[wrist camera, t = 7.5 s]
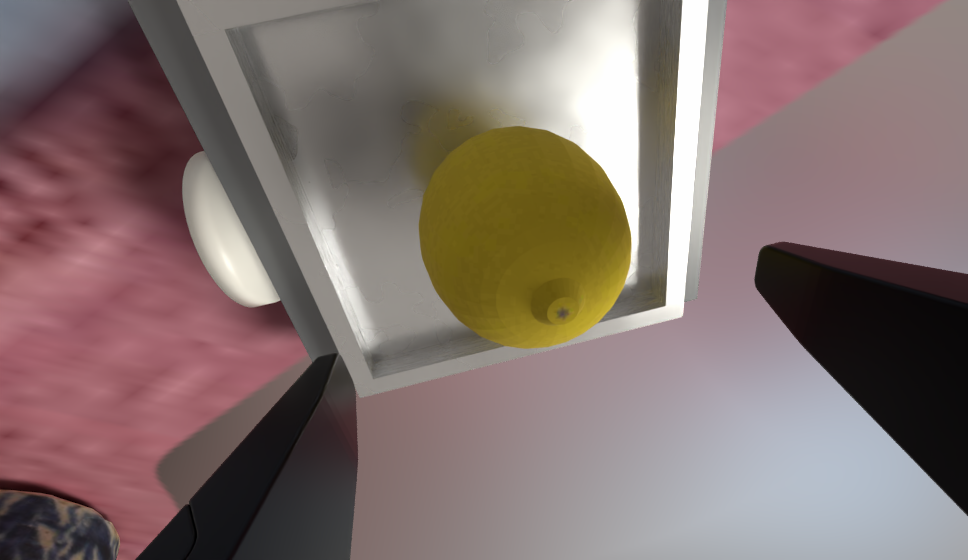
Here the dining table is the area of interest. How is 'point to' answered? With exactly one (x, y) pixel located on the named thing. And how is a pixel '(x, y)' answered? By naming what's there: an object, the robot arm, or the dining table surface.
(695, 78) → the pan
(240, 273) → the scale
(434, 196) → the lemon
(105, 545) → the jug
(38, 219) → the dining table surface
